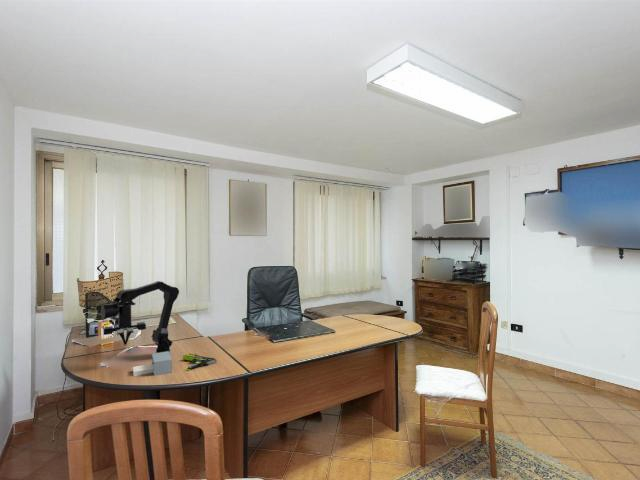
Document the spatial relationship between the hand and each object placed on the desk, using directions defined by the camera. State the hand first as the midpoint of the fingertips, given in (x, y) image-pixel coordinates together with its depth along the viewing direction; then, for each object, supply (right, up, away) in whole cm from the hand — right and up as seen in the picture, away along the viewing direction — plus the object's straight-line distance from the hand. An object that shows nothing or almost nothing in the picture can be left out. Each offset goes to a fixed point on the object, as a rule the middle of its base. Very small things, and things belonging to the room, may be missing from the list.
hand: (125, 344), depth 171 cm
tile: (+14, -12, -4) cm, 19 cm away
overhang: (+20, -12, -2) cm, 23 cm away
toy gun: (+34, -13, +3) cm, 37 cm away
